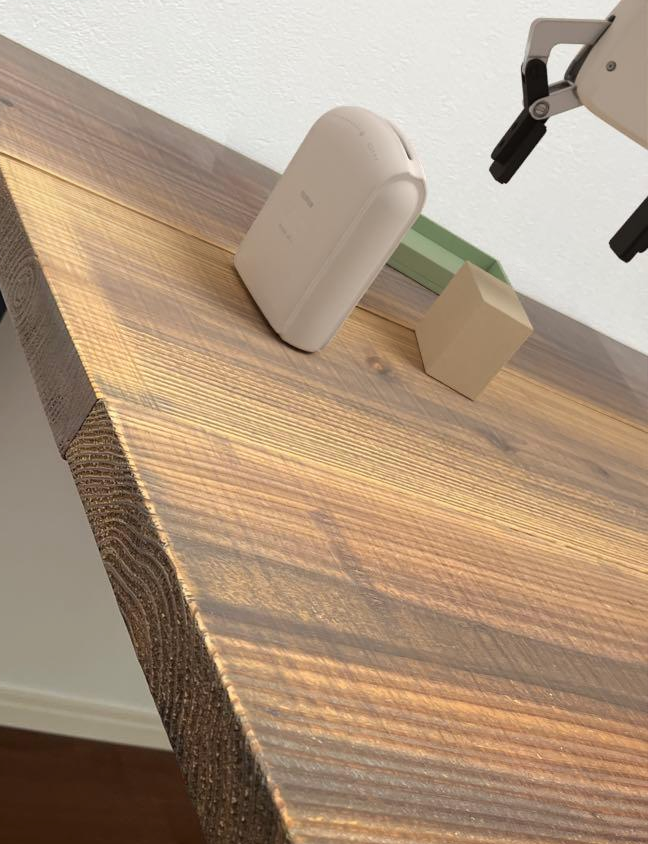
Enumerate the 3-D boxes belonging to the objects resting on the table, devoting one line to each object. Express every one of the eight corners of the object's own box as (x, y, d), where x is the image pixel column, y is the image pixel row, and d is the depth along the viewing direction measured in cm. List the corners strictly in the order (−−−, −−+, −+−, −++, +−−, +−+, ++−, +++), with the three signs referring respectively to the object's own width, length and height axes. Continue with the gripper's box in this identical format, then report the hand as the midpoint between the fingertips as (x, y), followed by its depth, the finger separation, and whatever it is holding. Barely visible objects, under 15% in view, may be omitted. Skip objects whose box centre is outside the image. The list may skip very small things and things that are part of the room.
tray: (485, 279, 101) (499, 261, 100) (512, 338, 89) (529, 318, 87) (364, 206, 99) (378, 187, 98) (375, 257, 87) (390, 235, 85)
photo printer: (221, 255, 67) (331, 75, 61) (273, 277, 69) (385, 105, 63) (271, 342, 60) (401, 148, 53) (327, 363, 62) (460, 179, 55)
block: (458, 354, 77) (512, 287, 74) (474, 401, 70) (534, 330, 67) (413, 328, 76) (466, 259, 73) (425, 373, 70) (483, 299, 67)
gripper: (670, -139, 53) (454, 160, 62) (924, 42, 56) (680, 304, 65) (630, -139, 59) (439, 133, 69) (860, 24, 62) (646, 265, 71)
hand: (557, 216), depth 67 cm, fingers open, 9 cm apart
